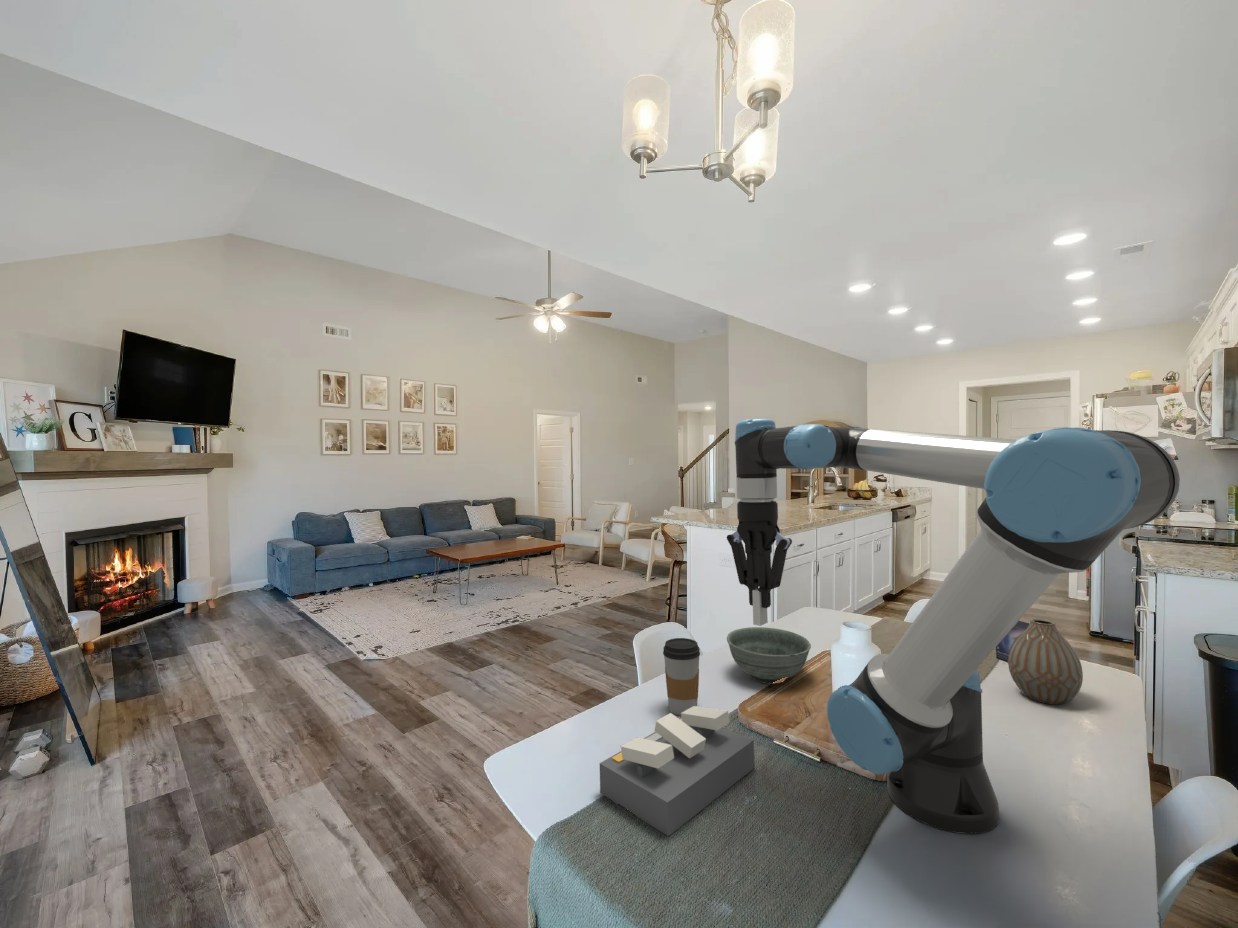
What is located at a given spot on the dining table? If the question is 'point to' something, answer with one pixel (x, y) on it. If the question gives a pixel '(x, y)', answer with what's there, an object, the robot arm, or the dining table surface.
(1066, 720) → the dining table surface
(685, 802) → the switch unit
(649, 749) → the rocker
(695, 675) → the coffee cup
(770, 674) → the bowl
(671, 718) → the rocker
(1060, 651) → the vase
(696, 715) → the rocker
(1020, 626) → the small box
